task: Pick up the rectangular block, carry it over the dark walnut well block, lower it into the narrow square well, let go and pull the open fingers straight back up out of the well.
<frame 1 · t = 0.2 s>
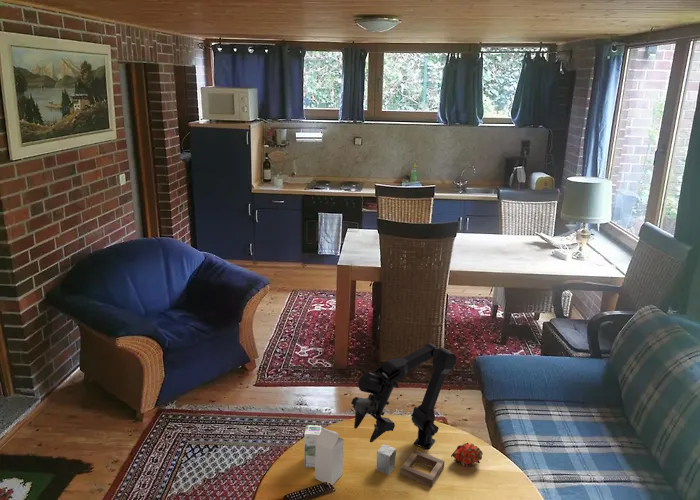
hand: (362, 435, 197), 14 cm above the table, tool tilted 25°, fingers open, 9 cm apart
dragon fruit: (465, 463, 206), on the table
rectangular block: (385, 468, 201), on the table
syrup box: (312, 463, 203), on the table
milk carton: (328, 477, 196), on the table
well block: (422, 471, 200), on the table
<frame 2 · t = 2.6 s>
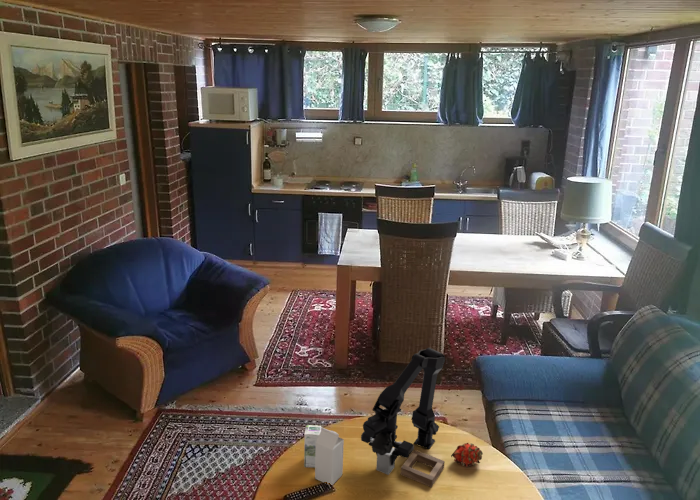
hand: (385, 461, 200), 3 cm above the table, tool pointing down, fingers closed on rectangular block, 5 cm apart
rectangular block: (385, 468, 201), on the table, touching gripper
everything else where it was.
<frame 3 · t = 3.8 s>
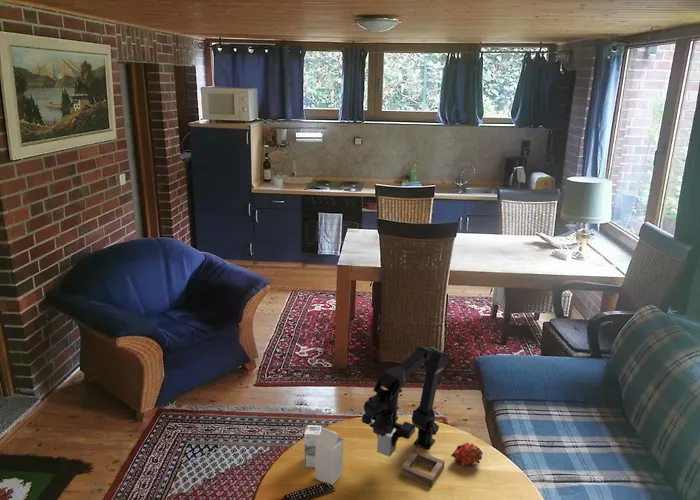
hand: (386, 443, 198), 11 cm above the table, tool pointing down, fingers closed on rectangular block, 5 cm apart
rectangular block: (386, 450, 199), point 8 cm above the table, touching gripper
everything else where it was.
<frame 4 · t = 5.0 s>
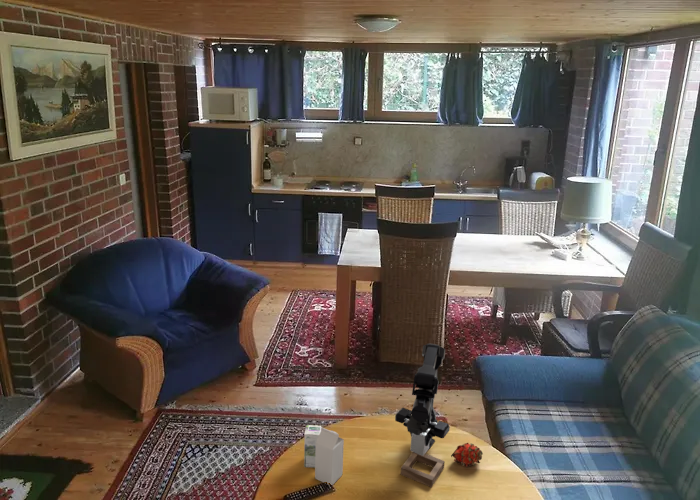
hand: (420, 442, 197), 12 cm above the table, tool pointing down, fingers closed on rectangular block, 5 cm apart
rectangular block: (419, 449, 198), point 9 cm above the table, touching gripper
everything else where it was.
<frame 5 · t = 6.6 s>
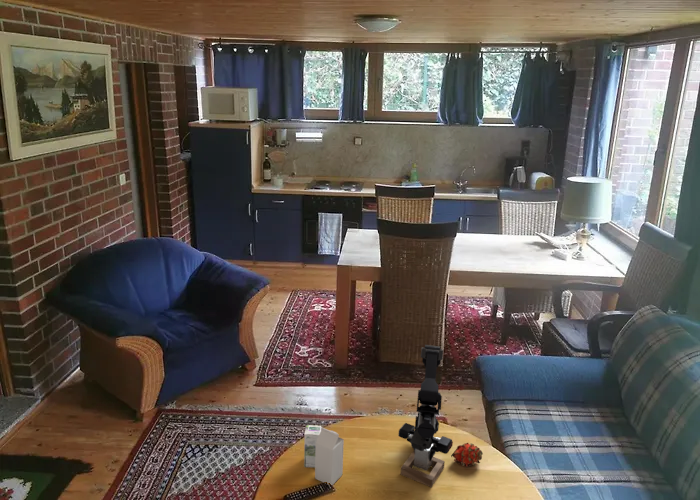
hand: (423, 457, 199), 6 cm above the table, tool pointing down, fingers closed on rectangular block, 5 cm apart
rectangular block: (422, 464, 200), point 3 cm above the table, touching gripper
everything else where it was.
when the fingers open (4 cm above the table, at t = 7.8 s): rectangular block drops 1 cm, resting in well block.
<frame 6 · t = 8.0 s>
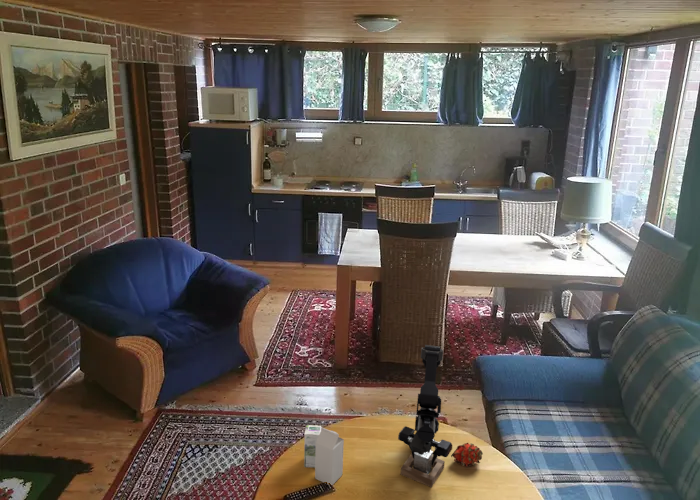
hand: (423, 461, 199), 4 cm above the table, tool pointing down, fingers open, 7 cm apart
rectangular block: (422, 471, 201), resting in well block
everything else where it was.
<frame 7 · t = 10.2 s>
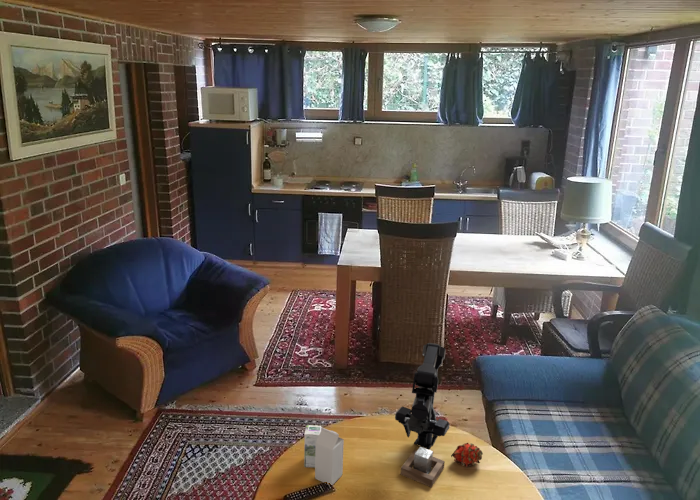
hand: (420, 441, 198), 12 cm above the table, tool pointing down, fingers open, 9 cm apart
nothing on the table moved.
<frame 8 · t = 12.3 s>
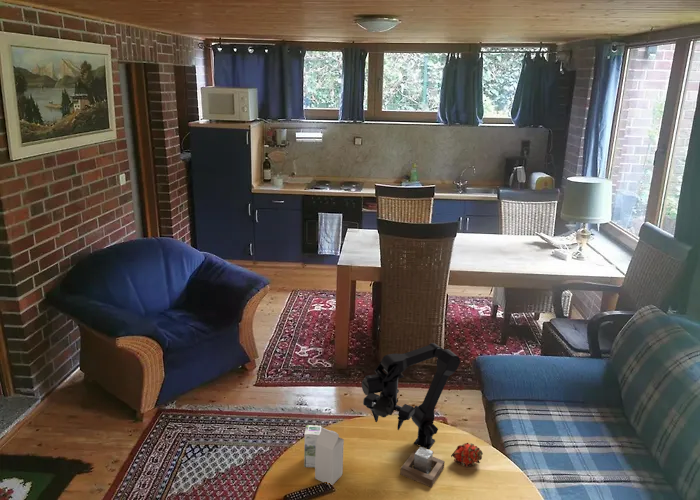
hand: (387, 425, 206), 12 cm above the table, tool pointing down, fingers open, 9 cm apart
nothing on the table moved.
at the end: rectangular block 0.1 cm off-centre on the well block, point 0.0 cm above the well block's base; rectangular block tilted 0°; the gripper is holding nothing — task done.
